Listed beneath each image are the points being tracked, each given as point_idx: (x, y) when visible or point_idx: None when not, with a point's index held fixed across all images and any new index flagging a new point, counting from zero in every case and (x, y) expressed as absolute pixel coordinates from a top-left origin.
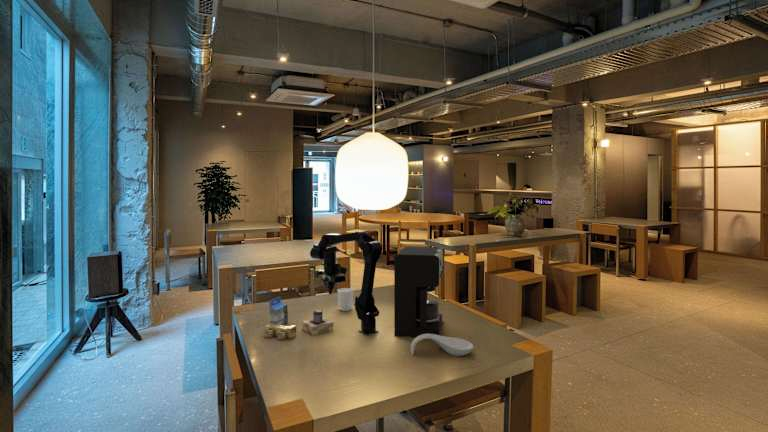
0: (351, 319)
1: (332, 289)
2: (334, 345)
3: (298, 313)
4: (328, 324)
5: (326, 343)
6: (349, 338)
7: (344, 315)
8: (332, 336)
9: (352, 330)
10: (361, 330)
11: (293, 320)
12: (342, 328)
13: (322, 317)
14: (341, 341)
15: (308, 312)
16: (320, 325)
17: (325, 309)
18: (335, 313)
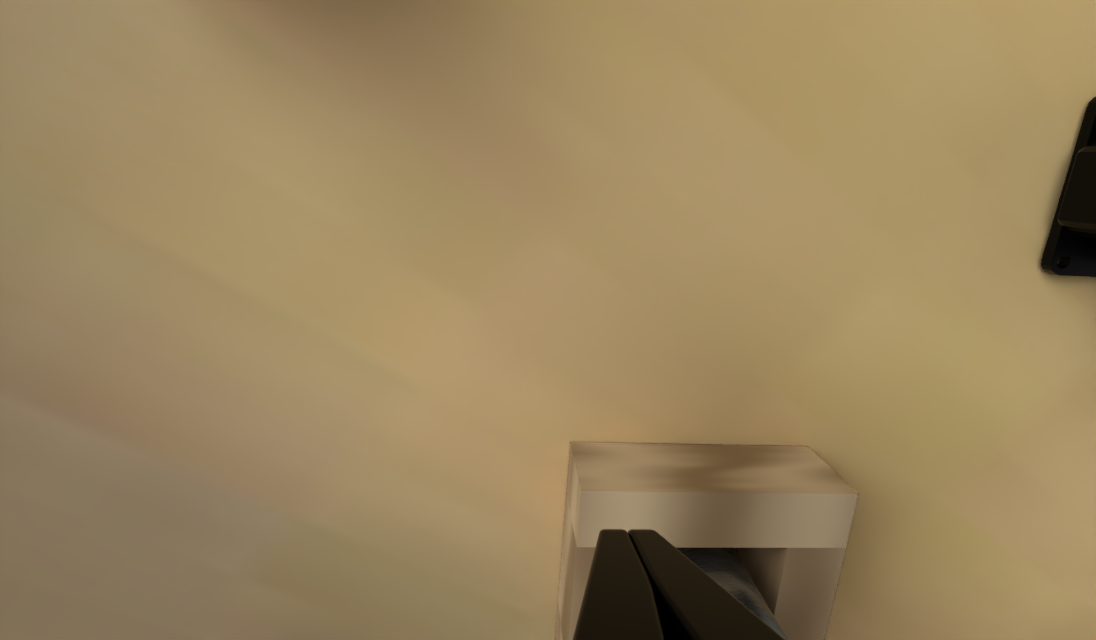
0: (680, 63)
1: (755, 637)
2: (1074, 611)
3: (7, 463)
4: (838, 544)
5: (994, 636)
6: (1083, 447)
7: (467, 25)
8: (923, 532)
9: (968, 303)
10: (1092, 259)
11: (251, 607)
12: (841, 349)
13: (766, 610)
14: (1068, 533)
15: (30, 347)
16: (823, 637)
17: (5, 71)
18: (297, 72)
